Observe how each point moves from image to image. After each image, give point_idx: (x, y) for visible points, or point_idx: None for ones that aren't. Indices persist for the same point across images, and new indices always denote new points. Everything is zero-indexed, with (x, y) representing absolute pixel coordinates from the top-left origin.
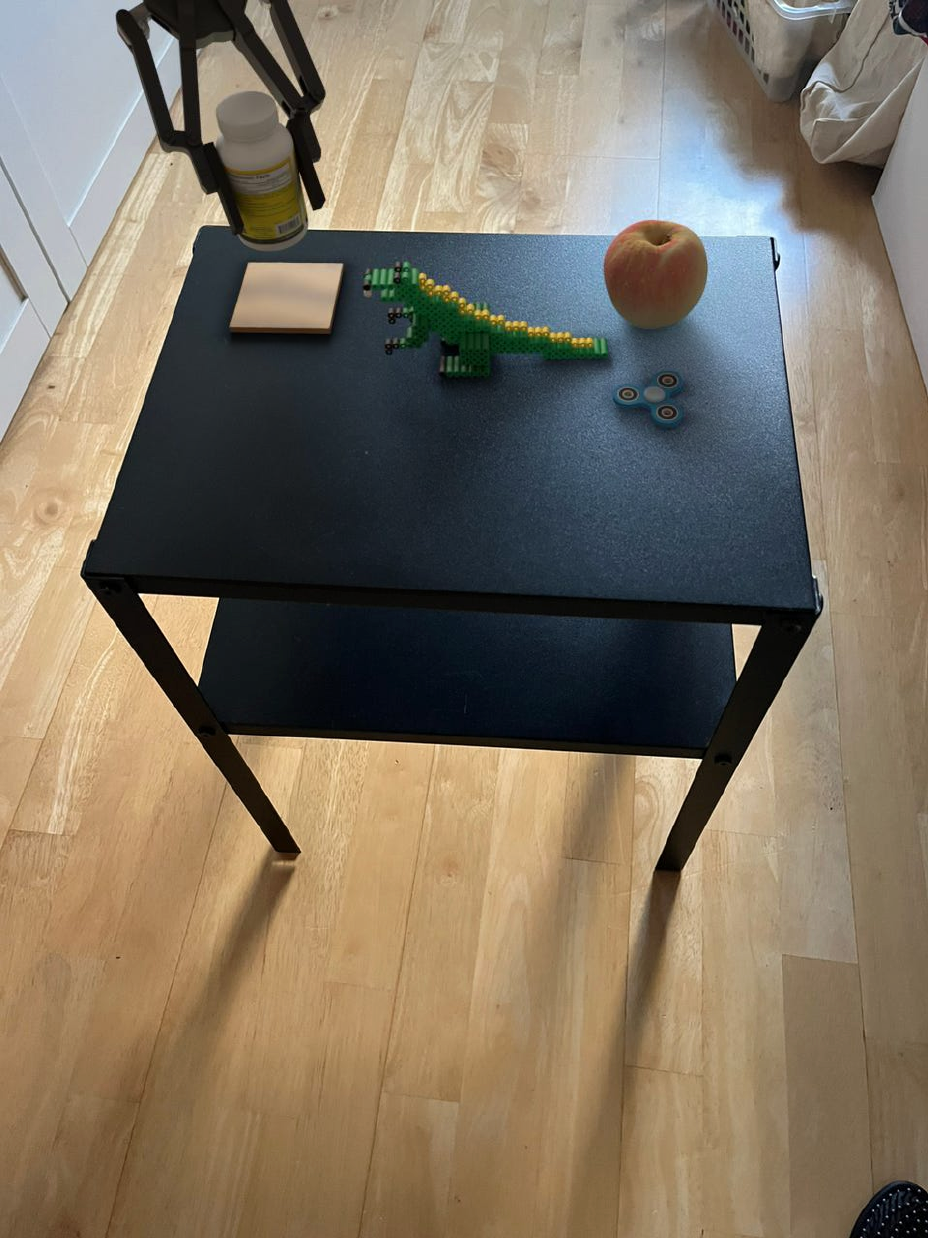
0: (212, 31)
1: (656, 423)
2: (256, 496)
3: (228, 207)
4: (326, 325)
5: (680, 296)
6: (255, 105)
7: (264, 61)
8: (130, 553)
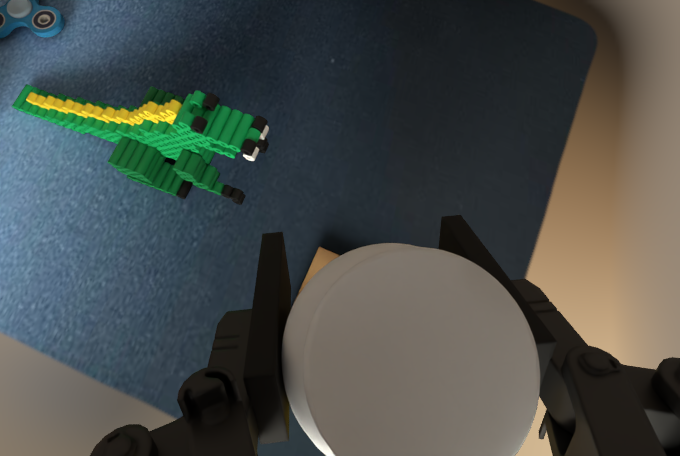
0: None
1: None
2: (451, 48)
3: (474, 237)
4: (321, 253)
5: None
6: (383, 364)
7: None
8: (573, 28)
